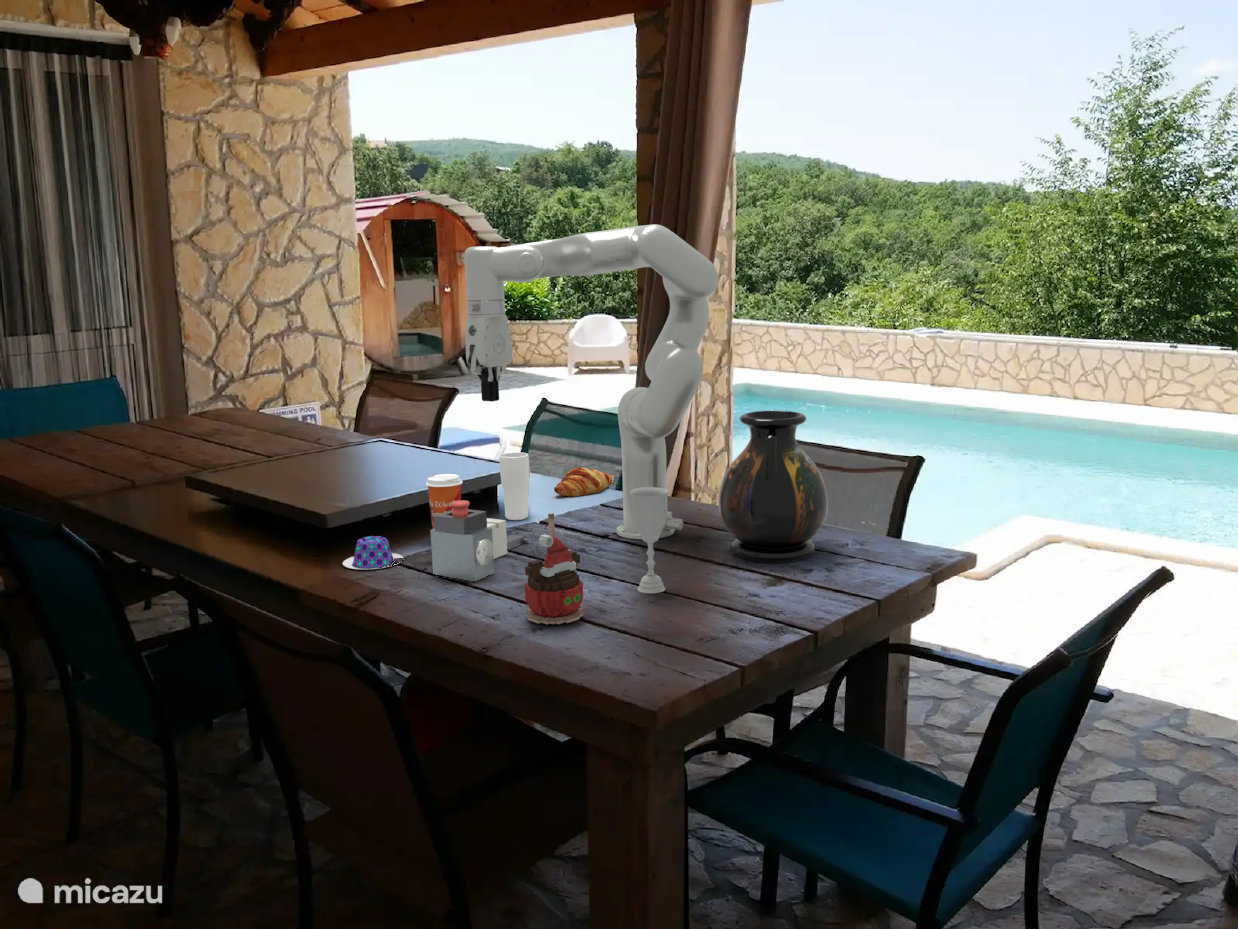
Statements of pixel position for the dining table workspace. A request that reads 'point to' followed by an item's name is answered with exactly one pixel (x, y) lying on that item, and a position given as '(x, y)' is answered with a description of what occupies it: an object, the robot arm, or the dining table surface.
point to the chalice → (650, 529)
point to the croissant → (583, 482)
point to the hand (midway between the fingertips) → (490, 400)
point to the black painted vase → (773, 492)
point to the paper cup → (443, 493)
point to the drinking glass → (515, 484)
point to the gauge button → (459, 508)
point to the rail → (515, 540)
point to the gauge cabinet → (462, 545)
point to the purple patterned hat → (371, 554)
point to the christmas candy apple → (554, 583)
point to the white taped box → (498, 536)
